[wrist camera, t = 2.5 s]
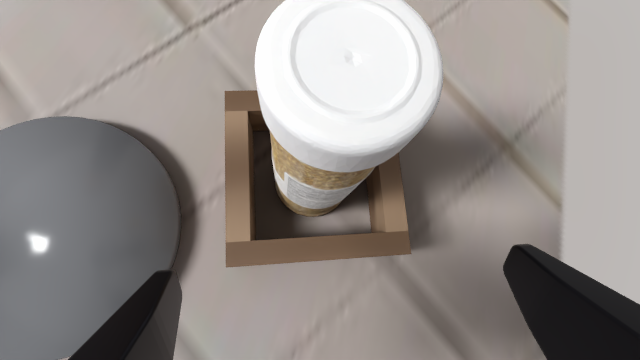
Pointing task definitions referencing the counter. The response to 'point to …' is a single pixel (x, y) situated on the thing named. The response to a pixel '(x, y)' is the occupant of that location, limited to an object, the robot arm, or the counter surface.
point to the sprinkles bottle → (342, 93)
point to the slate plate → (76, 231)
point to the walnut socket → (248, 251)
